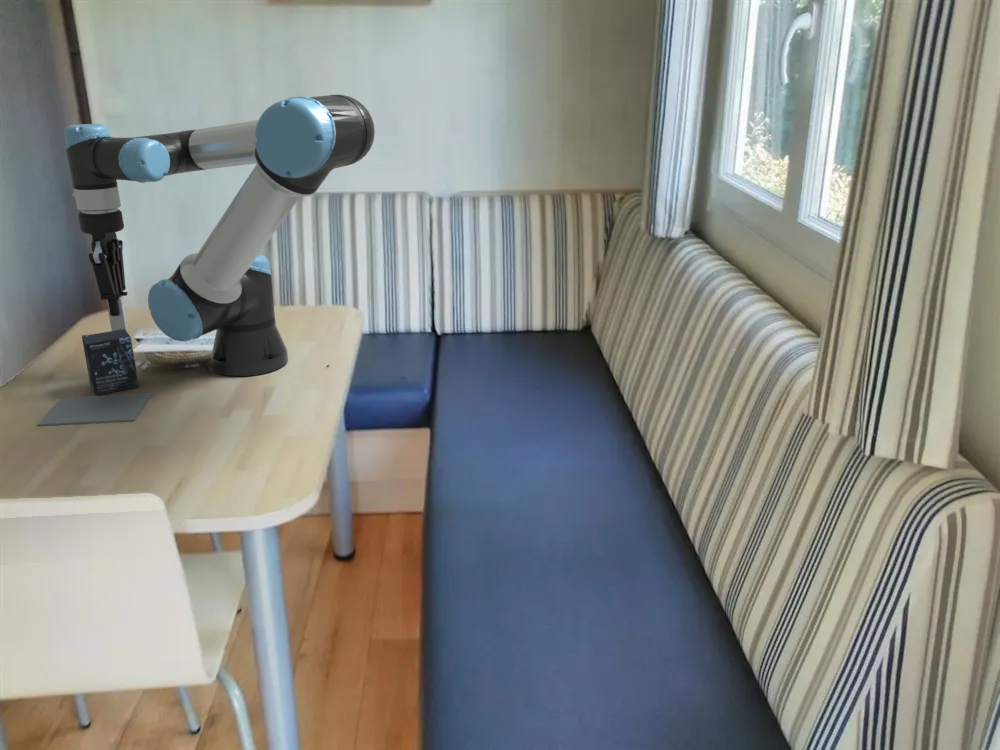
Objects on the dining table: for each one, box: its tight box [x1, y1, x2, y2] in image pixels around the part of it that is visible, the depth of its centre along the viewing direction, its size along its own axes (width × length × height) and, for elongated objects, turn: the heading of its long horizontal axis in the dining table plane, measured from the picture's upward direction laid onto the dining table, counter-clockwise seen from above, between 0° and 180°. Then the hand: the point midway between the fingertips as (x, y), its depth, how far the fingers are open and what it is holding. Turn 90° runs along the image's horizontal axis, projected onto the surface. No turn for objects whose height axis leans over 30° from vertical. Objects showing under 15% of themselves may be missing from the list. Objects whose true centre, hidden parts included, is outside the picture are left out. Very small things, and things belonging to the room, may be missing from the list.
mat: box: [37, 393, 152, 427], centre depth 153 cm, size 16×12×1 cm
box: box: [81, 329, 139, 396], centre depth 161 cm, size 8×6×11 cm
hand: (120, 329), depth 167 cm, fingers closed
